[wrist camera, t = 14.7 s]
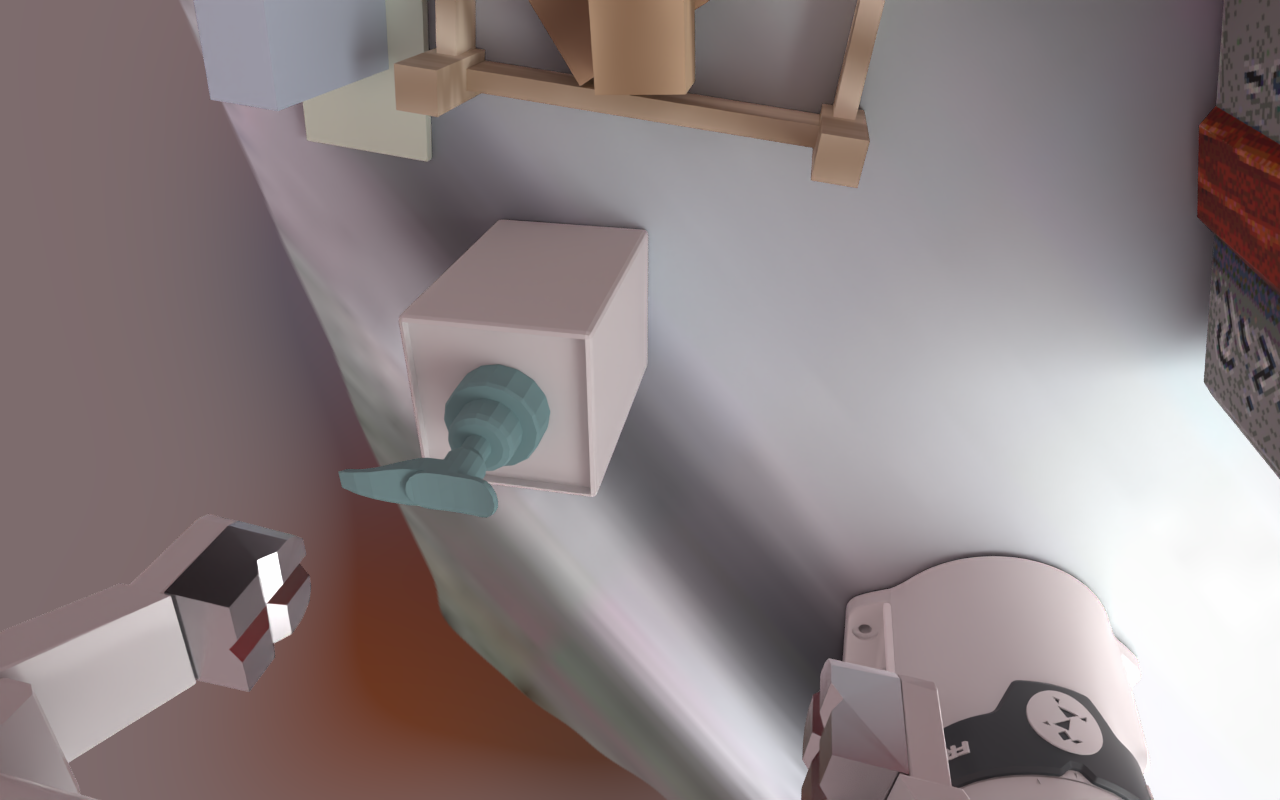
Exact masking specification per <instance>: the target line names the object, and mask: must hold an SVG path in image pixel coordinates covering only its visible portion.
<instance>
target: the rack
mask: <svg viewBox="0 0 1280 800" xmlns="http://www.w3.org/2000/svg"><path fill="white" fill-rule="evenodd" d="M884 3H885V0H857V4H856V8H855V12H854V17H853V21H852V25H851V29H850V34H849V38H848V42H847V47H846V51H845V55H844V59H843V64H842V68H841V72H840V77H839V81H838V85H837V90H836V94H835V98H834V102H833V105H829V104H823V103H822V108H821V112H820V114H816V113H810V112H804V111H797V110H791V109H785V108H779V107H772V106H766V105H760V104H754V103H748V102H741V101H735V100H729V99H723V98H716V97H710V96H704V95H698V94H691V93H686V94H683V95H595V88H594V78H592V79H590V80H589V81H587V82H586V83H584V84H583V85H581V86H580V85H579V84H578V82H577V80H576V79H575V77H574V75H573V74H567V73H561V72H554V71H548V70H542V69H536V68H529V67H523V66H517V65H511V64H505V63H498V62H492V61H486V60H485V50H483V49H477V48H475V0H435V13H436V48H434V49H432V50H429V51H426V52H424V53H421V54H418V55H416V56H413V57H410V58H407V59H405V60H402V61H399V62H397V63H394V78H395V98H396V110H399V111H405V112H411V113H417V114H423V115H429V116H435V117H439V116H440V115H442V114H444V113H446V112H448V111H450V110H451V109H453V108H455V107H457V106H459V105H460V104H462V103H464V102H466V101H468V100H470V99H471V98H473V97H475V96H477V95H479V94H481V93H484V94H491V95H497V96H503V97H509V98H515V99H521V100H527V101H533V102H539V103H545V104H551V105H557V106H563V107H569V108H575V109H581V110H587V111H593V112H600V113H606V114H612V115H618V116H624V117H630V118H636V119H642V120H648V121H654V122H660V123H666V124H672V125H678V126H684V127H690V128H696V129H702V130H709V131H715V132H721V133H727V134H733V135H739V136H745V137H751V138H757V139H763V140H769V141H775V142H781V143H787V144H793V145H799V146H805V147H812V148H813V154H812V170H811V180H812V181H818V182H824V183H830V184H836V185H842V186H848V187H854V188H857V187H858V184H859V180H860V176H861V172H862V168H863V165H864V161H865V157H866V153H867V149H868V146H869V142H870V140H869V134H868V129H867V123H866V117H865V112H864V110H860V109H858V107H859V103H860V99H861V95H862V91H863V87H864V83H865V79H866V75H867V71H868V67H869V63H870V59H871V55H872V51H873V47H874V43H875V39H876V35H877V31H878V27H879V23H880V19H881V15H882V11H883V7H884Z"/></svg>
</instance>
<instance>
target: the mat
mask: <svg viewBox="0 0 1280 800" xmlns="http://www.w3.org/2000/svg"><path fill="white" fill-rule="evenodd" d="M385 6H386V24H387V42H388V60H389V69H388V70H385V71H383V72H380V73H377V74H375V75H372V76H369V77H367V78H364V79H361V80H359V81H356V82H353V83H351V84H348V85H346V86H343V87H340V88H338V89H335V90H332V91H330V92H327V93H324V94H322V95H319V96H317V97H314V98H311V99H309V100H306V101H303V110H304V118H305V127H306V136H307V141H313V142H319V143H324V144H330V145H336V146H341V147H347V148H353V149H358V150H364V151H370V152H375V153H381V154H387V155H392V156H398V157H404V158H410V159H415V160H421V161H427V162H428V161H429V160H431V159H432V143H431V116H429V115H423V114H417V113H411V112H405V111H399V110H396V98H395V78H394V63H397V62H399V61H402V60H405V59H407V58H410V57H413V56H416V55H418V54H421V53H424V52H426V51H429V42H428V8H427V0H385Z"/></svg>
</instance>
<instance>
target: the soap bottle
mask: <svg viewBox="0 0 1280 800" xmlns="http://www.w3.org/2000/svg"><path fill="white" fill-rule="evenodd" d="M399 326H400V332H401V338H402V343H403V349H404V355H405V361H406V367H407V372H408V378H409V384H410V390H411V396H412V401H413V407H414V413H415V419H416V425H417V430H418V436H419V442H420V448H421V454H422V458H418V459H412V460H407V461H402V462H398V463H394V464H389V465H385V466H381V467H377V468H369V469H346V470H343V471H339V476H340V480H341V484H342V487H343V488H345V489H347V490H349V491H352V492H354V493H356V494H359V495H362V496H366V497H369V498H373V499H378V500H382V501H388V502H393V503H400V504H406V505H416V506H421V507H424V508H428V509H435V510H445V511H452V512H458V513H464V514H470V515H475V516H479V517H486V518H487V517H489V516H491V515H492V514H494V513H495V512H496V510H497V508H498V499H497V496H496V493H495V491H494V489H493V488H492V486H491V485H490V484H496V485H504V486H512V487H520V488H527V489H535V490H543V491H551V492H559V493H566V494H574V495H582V496H590V497H593V496H595V495H596V494H597V492H598V490H599V487H600V485H601V482H602V480H603V477H604V474H605V472H606V469H607V467H608V464H609V462H610V459H611V457H612V454H613V451H614V449H615V446H616V444H617V441H618V439H619V436H620V434H621V431H622V428H623V426H624V423H625V421H626V418H627V416H628V413H629V410H630V408H631V405H632V403H633V400H634V398H635V395H636V393H637V390H638V387H639V385H640V382H641V380H642V377H643V375H644V372H645V370H646V367H647V344H648V232H647V231H646V230H642V229H628V228H614V227H600V226H586V225H572V224H558V223H544V222H530V221H516V220H498V221H497V222H496V223H495V224H494V225H493V226H492V227H491V228H490V229H489V230H488V231H487V232H486V233H485V234H484V235H483V236H482V237H481V238H480V239H479V240H478V241H476V242H475V243H474V244H473V245H472V246H471V247H470V248H469V249H468V250H467V251H466V252H465V253H464V254H463V255H462V256H461V257H460V258H459V259H458V260H457V261H456V262H455V263H454V264H453V265H452V266H451V267H450V268H448V269H447V270H446V271H445V272H444V273H443V274H442V275H441V276H440V277H439V278H438V279H437V280H436V281H435V282H434V283H433V284H432V285H431V286H430V287H429V288H428V289H427V290H426V291H425V292H424V293H423V294H421V295H420V296H419V297H418V298H417V299H416V300H415V301H414V302H413V303H412V304H411V305H410V306H409V307H408V308H407V309H406V310H405V311H404V312H403V313H402V314H401V315H400V317H399Z"/></svg>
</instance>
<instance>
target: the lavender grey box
mask: <svg viewBox="0 0 1280 800" xmlns="http://www.w3.org/2000/svg"><path fill="white" fill-rule="evenodd" d="M194 6H195V12H196V18H197V23H198V29H199V35H200V41H201V47H202V52H203V58H204V64H205V70H206V76H207V81H208V87H209V93H210V99H211V100H216V101H222V102H228V103H234V104H239V105H245V106H251V107H257V108H263V109H268V110H274V111H280V110H282V109H285V108H287V107H290V106H293V105H295V104H298V103H301V102H303V101H306V100H309V99H311V98H314V97H317V96H319V95H322V94H324V93H327V92H330V91H332V90H335V89H338V88H340V87H343V86H346V85H348V84H351V83H353V82H356V81H359V80H361V79H364V78H367V77H369V76H372V75H375V74H377V73H380V72H383V71H385V70H388V69H389V60H388V42H387V24H386V6H385V0H194Z"/></svg>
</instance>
